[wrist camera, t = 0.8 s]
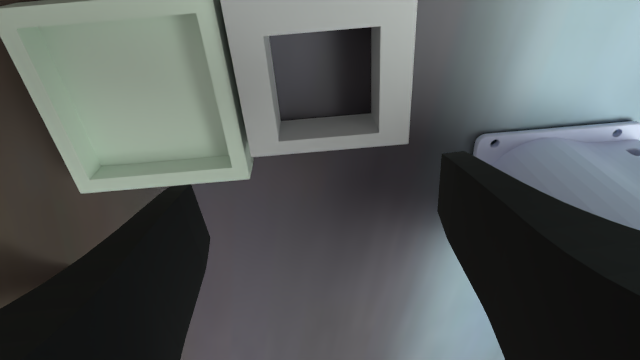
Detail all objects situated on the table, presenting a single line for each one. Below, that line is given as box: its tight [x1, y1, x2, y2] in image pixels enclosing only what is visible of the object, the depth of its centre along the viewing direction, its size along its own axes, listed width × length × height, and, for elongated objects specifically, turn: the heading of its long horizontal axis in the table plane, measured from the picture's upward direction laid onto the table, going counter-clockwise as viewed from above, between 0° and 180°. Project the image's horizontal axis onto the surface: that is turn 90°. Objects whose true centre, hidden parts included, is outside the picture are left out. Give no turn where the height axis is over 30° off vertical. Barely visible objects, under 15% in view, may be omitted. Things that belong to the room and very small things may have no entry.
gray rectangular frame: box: [220, 0, 417, 157], centre depth 17 cm, size 8×13×2 cm, turn 4°
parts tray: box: [0, 0, 254, 194], centre depth 19 cm, size 9×9×2 cm
